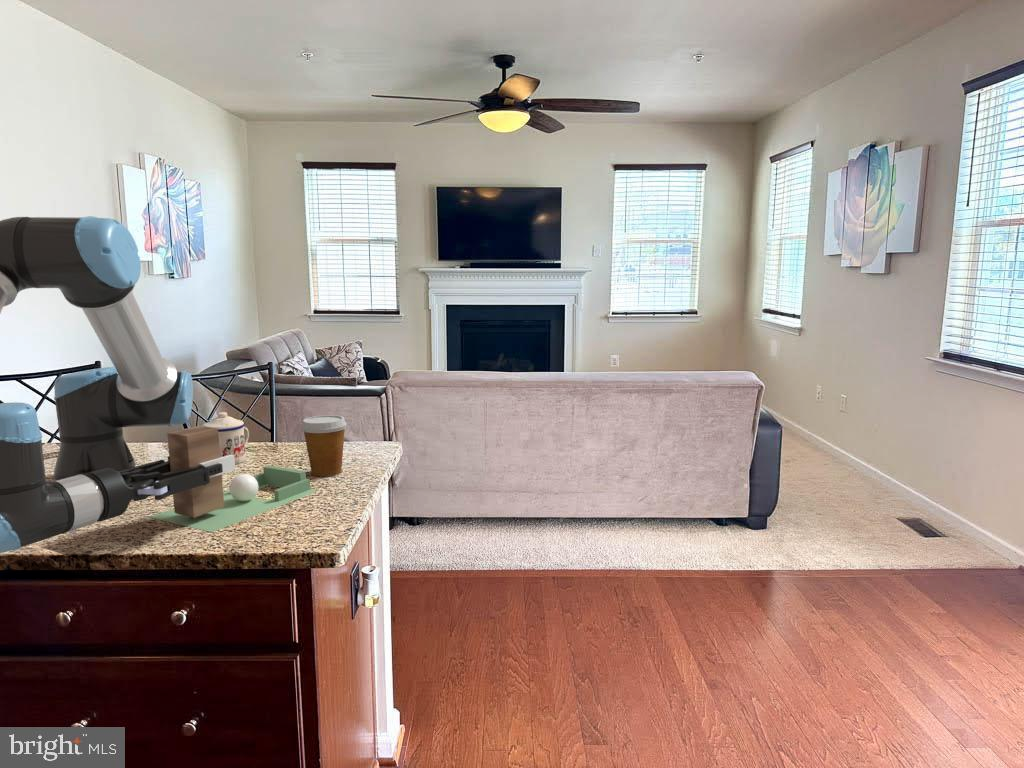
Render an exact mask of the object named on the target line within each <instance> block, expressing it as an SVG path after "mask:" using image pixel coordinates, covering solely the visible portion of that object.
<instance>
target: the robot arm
mask: <svg viewBox="0 0 1024 768" xmlns="http://www.w3.org/2000/svg"><path fill="white" fill-rule="evenodd" d="M138 253H139V249H138V246H137V243H136V241H135V238H134V237H133V235H132V234H131V232H130V230H129V229H128V228H127V226H125V225H124V224H123V223H122V222H120V221H118V220H117V219H114V218H109V217H108V218H107V217H98V216H91V215H90V216H89V215H88V216H83V217H73V216H72V217H71V216H70V217H64V216H63V217H60V216H59V217H56V216H55V217H54V216H52V217H51V216H50V217H49V216H48V217H46V216H45V217H44V216H42V217H41V216H40V217H39V216H38V217H37V216H36V217H31V216H30V217H29V216H15V217H10V218H9V217H8V218H4V219H1V220H0V314H1V312H2V310H3V308H5V307H7V306H9V305H11V304H12V303H13V302H14V301H15V300H16V298H17V296H18V293H20V292H22V291H23V290H28V289H59V290H60V292H61V294H62V295H63V296H64V298H65V300H66V301H67V302H68V304H70V305H72V306H75V307H76V308H79V309H81V310H82V311H83V313H84V315H85V316H86V319H87V320H88V322H89V323H90V326H91V327H92V329H93V331H94V333H95V335H96V337H97V338H98V340H99V341H100V343H101V345H102V347H103V349H104V350H105V352H106V354H107V356H108V357H109V360H110V361H111V364H112V365H113V366H110V367H109V366H107V367H100V368H99V367H98V368H93V369H85V370H82V371H77V372H72V373H67V374H63V375H60V376H59V377H57V378H56V379H55V381H54V384H53V385H54V398H53V399H54V403H55V411H56V418H57V425H58V433H59V441H60V443H59V444H60V447H59V450H58V454H57V458H56V463H55V466H54V470H53V477H54V480H53V481H50V482H47V480H46V478H47V477H46V470H45V469H46V467H45V461H44V460H45V459H44V452H43V442H42V441H43V440H42V438H43V434H42V432H41V428H40V424H39V418H38V414H37V410H36V409H35V407H34V406H33V405H31V404H29V403H26V402H2V403H0V554H2V553H6V552H10V551H17V550H20V549H21V548H23V547H26V546H30V545H33V544H35V543H38V542H42V541H44V540H47V539H50V538H53V537H56V536H59V535H63V534H66V533H69V534H75V533H76V532H77V529H80V528H81V529H82V528H84V527H87V526H90V525H94V524H95V523H97V522H98V523H100V522H104V521H107V520H110V519H114V518H116V517H120V516H121V515H124V513H126V511H127V510H128V507H129V505H130V503H131V502H132V501H134V502H139V501H142V500H146V499H147V498H149V497H154V500H156V501H161V500H163V499H165V498H167V497H170V496H173V494H176V493H179V492H182V491H185V490H189V489H192V488H195V487H198V486H202V485H206V484H208V483H210V478H211V477H214V476H218V475H221V474H222V475H223V474H224V475H225V474H227V473H230V472H233V471H236V464H235V457H234V455H228V456H225V457H221V458H218V459H214V460H210V461H207V462H203V463H200V464H199V466H196V467H191V468H187V469H182V470H177V471H172V472H171V468H170V458H169V455H168V456H167V460H166V461H165V460H164V459H159V460H155V461H151V462H149V463H144V464H140V465H137V466H136V460H135V458H134V457H133V453H132V452H131V450H130V449H129V446H128V444H127V442H126V440H125V438H124V431H123V428H133V427H134V428H137V427H138V428H139V427H141V428H142V427H171V426H175V425H177V426H178V425H184V424H186V423H187V421H188V420H189V419H190V418H191V413H192V410H193V409H192V408H193V400H194V385H193V382H194V381H193V377H192V375H191V373H190V372H188V371H184V370H180V371H177V368H176V366H175V365H174V363H173V362H171V361H170V360H169V359H167V358H165V357H163V355H162V354H161V352H160V350H159V348H158V345H157V343H156V341H155V339H154V337H153V335H152V332H151V330H150V328H149V326H148V322H147V321H146V319H145V316H144V315H143V312H142V311H141V309H140V306H139V304H138V301H137V300H136V297H135V295H134V292H133V291H134V289H135V287H136V284H137V283H138V282H139V280H140V277H141V271H142V270H141V269H142V268H141V267H142V266H141V257H140V256H139V254H138Z"/></svg>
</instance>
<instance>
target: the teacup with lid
mask: <svg viewBox="0 0 1024 768" xmlns="http://www.w3.org/2000/svg"><path fill="white" fill-rule="evenodd" d="M202 426H203V427H210V428H217V429H218V435H219V447H220V458H221V457H225V456H228V455H234V457H235V465H239V464H241V463H243V462H244V461H246V458H247V455H246V445H247V444H248V441H249V437H250V432H249V431H250V430H249V429H248V428H247V427H246V426H245V423H244V421H243V420H242V419H236V418H234V417H232V416H229V415H228V413H227V412H225V411H221V412H218V413H217V416H216V417H215V418H213V419H211V420H210V421H207V422H205V423H203V425H202Z"/></svg>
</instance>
